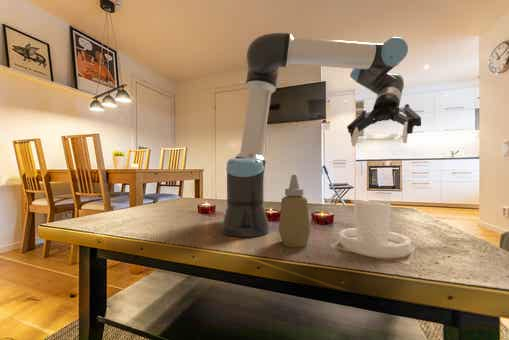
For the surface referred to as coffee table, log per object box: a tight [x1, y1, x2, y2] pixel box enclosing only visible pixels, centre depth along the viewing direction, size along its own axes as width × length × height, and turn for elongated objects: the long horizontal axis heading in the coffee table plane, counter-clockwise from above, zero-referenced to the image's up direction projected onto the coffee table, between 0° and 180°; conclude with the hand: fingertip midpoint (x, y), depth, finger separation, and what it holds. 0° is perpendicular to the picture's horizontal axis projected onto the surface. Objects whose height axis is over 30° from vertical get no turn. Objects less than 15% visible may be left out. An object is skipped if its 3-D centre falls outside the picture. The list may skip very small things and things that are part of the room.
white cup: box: [353, 199, 392, 245], centre depth 54 cm, size 8×8×10 cm
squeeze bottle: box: [278, 174, 311, 248], centre depth 57 cm, size 8×8×18 cm
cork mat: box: [329, 239, 417, 266], centre depth 54 cm, size 16×14×1 cm
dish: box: [338, 227, 412, 259], centre depth 54 cm, size 15×15×3 cm
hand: (376, 141), depth 66 cm, fingers open, 13 cm apart
